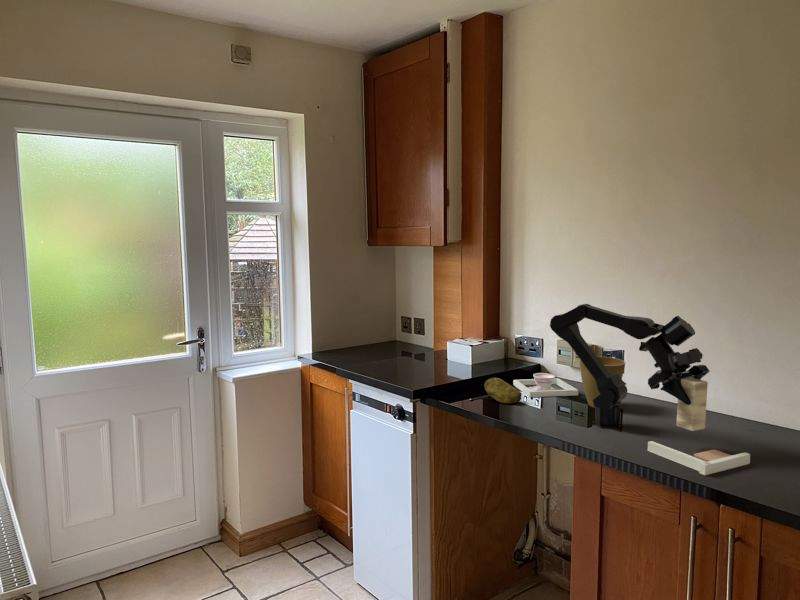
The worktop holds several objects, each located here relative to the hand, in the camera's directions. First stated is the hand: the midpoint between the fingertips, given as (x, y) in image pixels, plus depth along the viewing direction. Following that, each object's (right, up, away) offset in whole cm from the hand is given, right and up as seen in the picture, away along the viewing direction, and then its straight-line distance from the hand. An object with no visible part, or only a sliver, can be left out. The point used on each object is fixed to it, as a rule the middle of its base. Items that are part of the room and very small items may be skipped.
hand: (696, 403), depth 159 cm
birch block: (-1, -7, +2) cm, 7 cm away
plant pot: (-11, -9, +43) cm, 46 cm away
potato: (-44, -8, +49) cm, 66 cm away
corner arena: (-2, -14, -4) cm, 14 cm away
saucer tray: (-25, -6, +64) cm, 69 cm away
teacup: (-26, -7, +63) cm, 68 cm away
